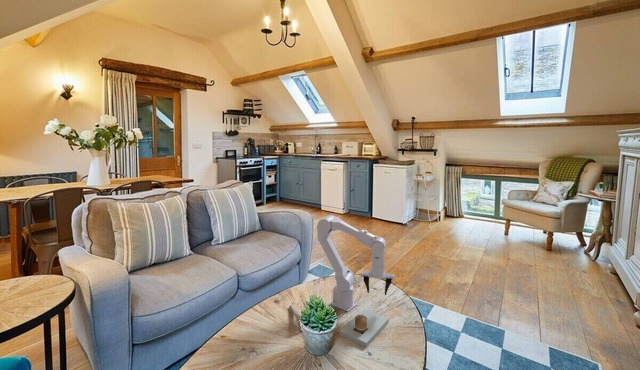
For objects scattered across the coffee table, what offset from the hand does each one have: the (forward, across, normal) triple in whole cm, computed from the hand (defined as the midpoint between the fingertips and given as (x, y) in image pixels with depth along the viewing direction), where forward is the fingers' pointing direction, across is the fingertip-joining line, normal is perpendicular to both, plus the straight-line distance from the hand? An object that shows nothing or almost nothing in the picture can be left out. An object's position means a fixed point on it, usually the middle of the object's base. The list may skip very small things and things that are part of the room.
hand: (376, 292), depth 141 cm
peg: (+9, +6, +17) cm, 20 cm away
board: (+9, +4, +14) cm, 17 cm away
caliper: (+10, +35, +12) cm, 38 cm away
